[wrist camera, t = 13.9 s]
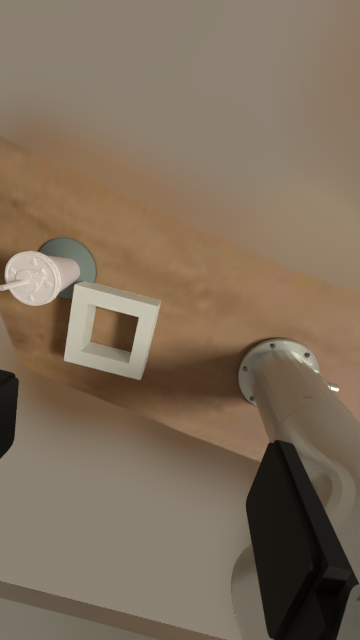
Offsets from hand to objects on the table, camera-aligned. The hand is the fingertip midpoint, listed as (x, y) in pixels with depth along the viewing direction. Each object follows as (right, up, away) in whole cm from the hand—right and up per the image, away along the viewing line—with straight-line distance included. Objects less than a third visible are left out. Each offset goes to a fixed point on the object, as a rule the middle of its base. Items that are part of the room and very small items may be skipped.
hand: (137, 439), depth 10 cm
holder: (-9, +3, +34) cm, 35 cm away
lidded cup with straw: (-15, +12, +31) cm, 37 cm away
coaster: (-16, +12, +32) cm, 37 cm away
